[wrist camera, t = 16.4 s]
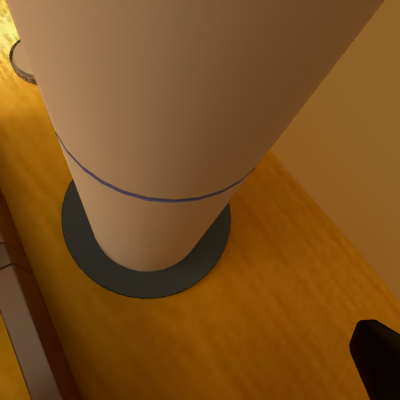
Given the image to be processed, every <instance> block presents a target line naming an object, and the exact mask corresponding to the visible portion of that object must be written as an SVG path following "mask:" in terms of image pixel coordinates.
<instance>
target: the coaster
mask: <svg viewBox="0 0 400 400" xmlns="http://www.w3.org/2000/svg"><path fill="white" fill-rule="evenodd" d="M230 220H231V219H230V207H229V202H228V204H227V205H226V206H225V208H224V209H223V210H222V211H221V213H220V214H219V215H218V217H217V218H216V219H215V220H214V222H213V223H212V224H211V226H210V227H209V228H208V229H207V231H206V232H205V233H204V235H203V236H202V237H201V239H200V240H199V241H198V243H197V244H196V245H195V246H194V248H193V249H192V250H191V252H190V253H189V254H188V255H187V256H186V257H185V258H184V259H183V260H181V261H180V262H178V263H176V264H175V265H173V266H171V267H168V268H166V269H163V270H158V271H151V272H146V271H136V270H132V269H128V268H126V267H123V266H121V265H119V264H117V263H116V262H115V261H113V260H112V259H110V258H109V257H108V256H107V255H106V254H105V253H104V251H103V250H102V249H101V247H100V246H99V244H98V242H97V241H96V239H95V236H94V233H93V230H92V228H91V225H90V222H89V220H88V217H87V214H86V212H85V209H84V206H83V204H82V201H81V198H80V196H79V193H78V191H77V188H76V185H75V183H74V180H73V179H72V181H71V182H70V184H69V187H68V189H67V191H66V194H65V198H64V202H63V207H62V229H63V234H64V238H65V241H66V244H67V247H68V249H69V251H70V253H71V255H72V257H73V259H74V260H75V261H76V263H77V264H78V266H79V267H80V268H81V269H82V270H83V271H84V273H85V274H86V275H87V276H88V277H90V278H91V279H92V280H93V281H95V282H96V283H97V284H99V285H101V286H102V287H104V288H106V289H107V290H110V291H112V292H115V293H117V294H120V295H124V296H128V297H133V298H142V299H145V298H159V297H166V296H169V295H173V294H176V293H179V292H181V291H183V290H185V289H187V288H189V287H191V286H192V285H194V284H195V283H197V282H198V281H200V280H201V279H202V278H203V277H204V276H206V275H207V274H208V272H209V271H210V270H211V269H212V268H213V267H214V266H215V264H216V263H217V261H218V260H219V259H220V257H221V255H222V253H223V251H224V249H225V246H226V243H227V240H228V236H229V231H230Z"/></svg>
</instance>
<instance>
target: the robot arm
mask: <svg viewBox="0 0 400 400" xmlns="http://www.w3.org/2000/svg"><path fill="white" fill-rule="evenodd" d="M349 348H350V353H351V356H352V358H353V360H354V363H355V365H356V367H357V370H358V372H359V375H360V377H361V379H362V382H363V384H364V386H365V389H366V391H367V393H368V396H369V398H370V400H400V334H398V333H397V332H395V331H393V330H392V329H390V328H389V327H387V326H385V325H384V324H382V323H380V322H379V321H377V320H373V319H371V320H360V321H359V322H358V323H357V324H356V327H355V330H354V332H353V335H352V338H351V340H350V344H349Z"/></svg>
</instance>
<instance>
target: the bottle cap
mask: <svg viewBox="0 0 400 400" xmlns="http://www.w3.org/2000/svg"><path fill="white" fill-rule="evenodd" d="M9 58H10V62H11V65H12V67H13V69H14V71H15V72H16V74H17V75H18V76H19V77H21V78H22V79H24V80H25V81H28V82H30V83H35V84H37V82H36V79H35V77H34V74H33V71H32V69H31V66H30V63H29V61H28V58H27V56H26V53H25V50H24V48H23V45H22V42H21V40H18V41H17V42H16V43H15V44H14V45H13V47H12V48H11V50H10V54H9Z"/></svg>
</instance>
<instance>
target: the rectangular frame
mask: <svg viewBox="0 0 400 400" xmlns="http://www.w3.org/2000/svg"><path fill="white" fill-rule="evenodd" d="M0 312H1V315H2V318H3V321H4V324H5V326H6V329H7V332H8V335H9V338H10V341H11V343H12V346H13V349H14V352H15V355H16V358H17V360H18V363H19V366H20V369H21V372H22V375H23V377H24V380H25V383H26V386H27V389H28V392H29V395H30V397H31V400H82V399H81V396H80V394H79V391H78V388H77V386H76V383H75V381H74V378H73V375H72V373H71V370H70V368H69V365H68V362H67V360H66V357H65V355H64V352H63V350H62V347H61V344H60V342H59V339H58V337H57V334H56V331H55V329H54V326H53V324H52V321H51V318H50V316H49V313H48V311H47V308H46V306H45V303H44V300H43V298H42V295H41V293H40V290H39V287H38V285H37V282H36V280H35V277H34V276H33V272H32V269H31V267H30V264H29V262H28V259H27V258H26V254H25V251H24V248H23V246H22V243H21V241H20V238H19V236H18V233H17V230H16V228H15V225H14V223H13V220H12V217H11V215H10V212H9V210H8V207H7V205H6V202H5V199H4V197H3V194H2V192H1V189H0Z"/></svg>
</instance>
